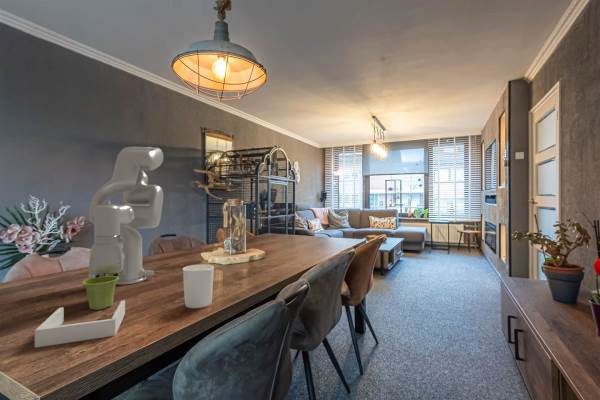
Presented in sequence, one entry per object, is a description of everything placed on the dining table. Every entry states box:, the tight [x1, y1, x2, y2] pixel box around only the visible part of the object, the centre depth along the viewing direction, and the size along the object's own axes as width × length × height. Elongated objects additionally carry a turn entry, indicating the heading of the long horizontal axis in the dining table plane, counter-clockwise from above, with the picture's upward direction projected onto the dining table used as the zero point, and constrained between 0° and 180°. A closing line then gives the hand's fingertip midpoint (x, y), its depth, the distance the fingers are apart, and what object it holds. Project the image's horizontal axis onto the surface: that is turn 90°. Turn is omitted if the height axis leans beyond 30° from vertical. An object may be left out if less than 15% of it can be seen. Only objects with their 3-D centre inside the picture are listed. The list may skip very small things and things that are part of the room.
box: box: [34, 299, 126, 348], centre depth 78 cm, size 16×16×4 cm
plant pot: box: [82, 275, 118, 311], centre depth 94 cm, size 9×9×9 cm
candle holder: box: [182, 263, 215, 309], centre depth 97 cm, size 10×10×12 cm
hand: (107, 293), depth 103 cm, fingers closed
